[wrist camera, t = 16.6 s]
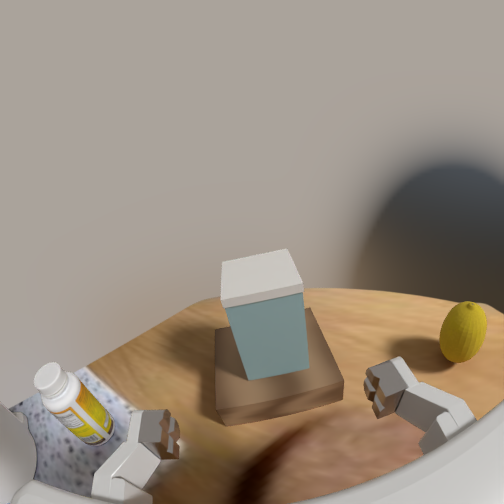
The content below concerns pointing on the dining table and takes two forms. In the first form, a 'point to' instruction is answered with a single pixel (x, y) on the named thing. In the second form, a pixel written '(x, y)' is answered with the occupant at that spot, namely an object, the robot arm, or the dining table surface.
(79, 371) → the dining table surface
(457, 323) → the lemon
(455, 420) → the robot arm
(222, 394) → the walnut block
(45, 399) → the supplement bottle
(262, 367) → the tea tin
